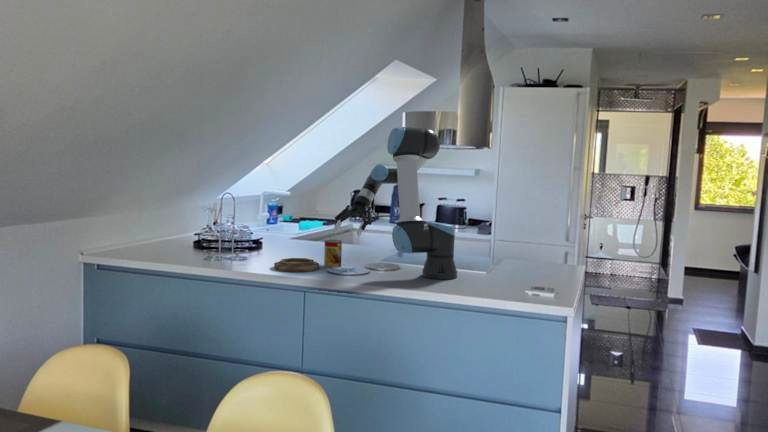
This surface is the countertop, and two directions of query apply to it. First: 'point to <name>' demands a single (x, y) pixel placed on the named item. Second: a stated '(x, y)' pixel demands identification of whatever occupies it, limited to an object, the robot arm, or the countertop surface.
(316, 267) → the hub trivet
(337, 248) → the canned food
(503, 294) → the countertop surface
